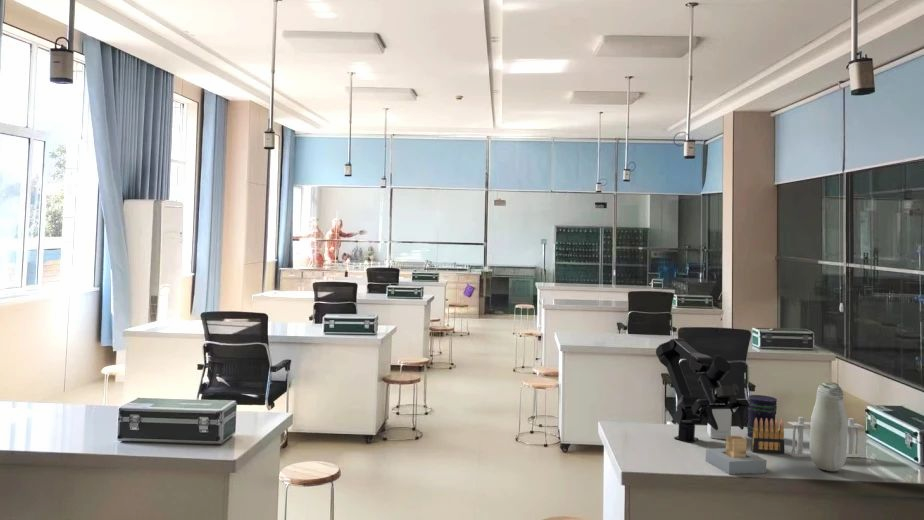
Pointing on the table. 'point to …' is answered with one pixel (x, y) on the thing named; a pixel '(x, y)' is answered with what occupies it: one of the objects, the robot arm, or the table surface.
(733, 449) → the peg
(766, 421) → the ammunition clip
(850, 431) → the test tube rack
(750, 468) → the socket
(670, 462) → the table surface
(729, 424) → the supplement box
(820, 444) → the white bottle
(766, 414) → the storage jar
